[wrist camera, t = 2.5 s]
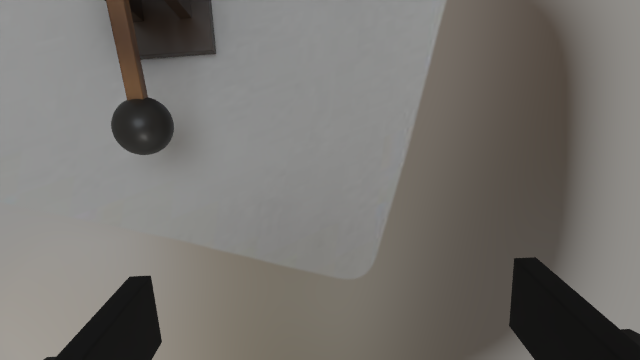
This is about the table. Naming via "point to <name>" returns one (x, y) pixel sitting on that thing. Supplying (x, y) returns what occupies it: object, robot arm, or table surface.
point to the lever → (135, 92)
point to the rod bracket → (173, 27)
